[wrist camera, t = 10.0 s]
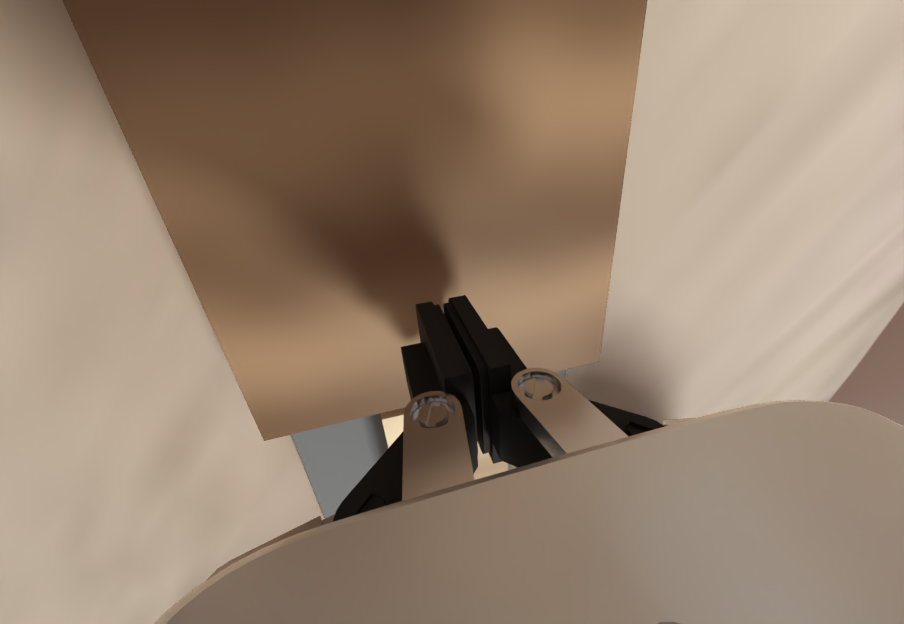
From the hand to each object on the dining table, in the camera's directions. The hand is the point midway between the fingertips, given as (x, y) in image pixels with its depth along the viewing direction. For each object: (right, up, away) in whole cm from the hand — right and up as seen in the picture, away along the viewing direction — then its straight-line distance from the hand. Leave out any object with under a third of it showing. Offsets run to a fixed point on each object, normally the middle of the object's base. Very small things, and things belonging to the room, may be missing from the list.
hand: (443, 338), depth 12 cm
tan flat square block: (-1, +5, +2) cm, 5 cm away
